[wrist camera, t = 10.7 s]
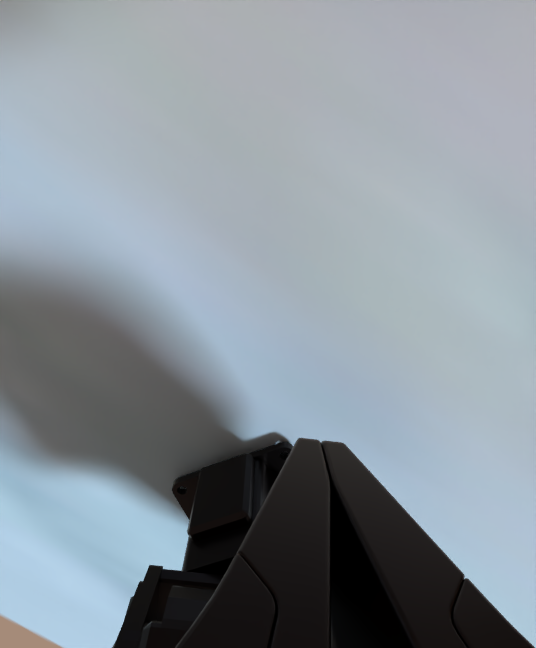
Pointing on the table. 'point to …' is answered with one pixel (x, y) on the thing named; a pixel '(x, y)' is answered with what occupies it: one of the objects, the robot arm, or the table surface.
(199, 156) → the table surface
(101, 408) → the table surface
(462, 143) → the table surface
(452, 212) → the table surface
